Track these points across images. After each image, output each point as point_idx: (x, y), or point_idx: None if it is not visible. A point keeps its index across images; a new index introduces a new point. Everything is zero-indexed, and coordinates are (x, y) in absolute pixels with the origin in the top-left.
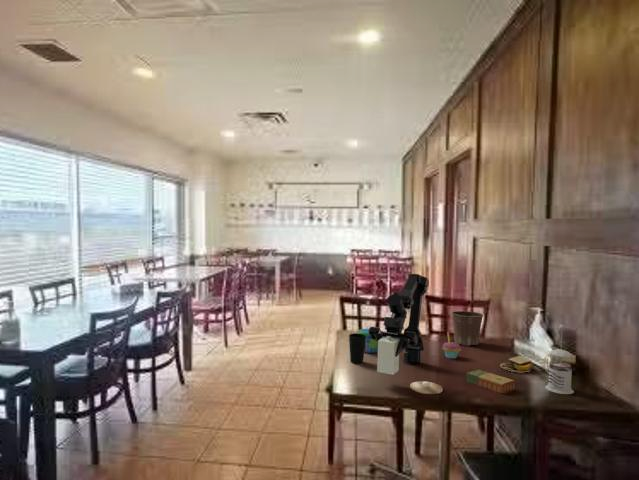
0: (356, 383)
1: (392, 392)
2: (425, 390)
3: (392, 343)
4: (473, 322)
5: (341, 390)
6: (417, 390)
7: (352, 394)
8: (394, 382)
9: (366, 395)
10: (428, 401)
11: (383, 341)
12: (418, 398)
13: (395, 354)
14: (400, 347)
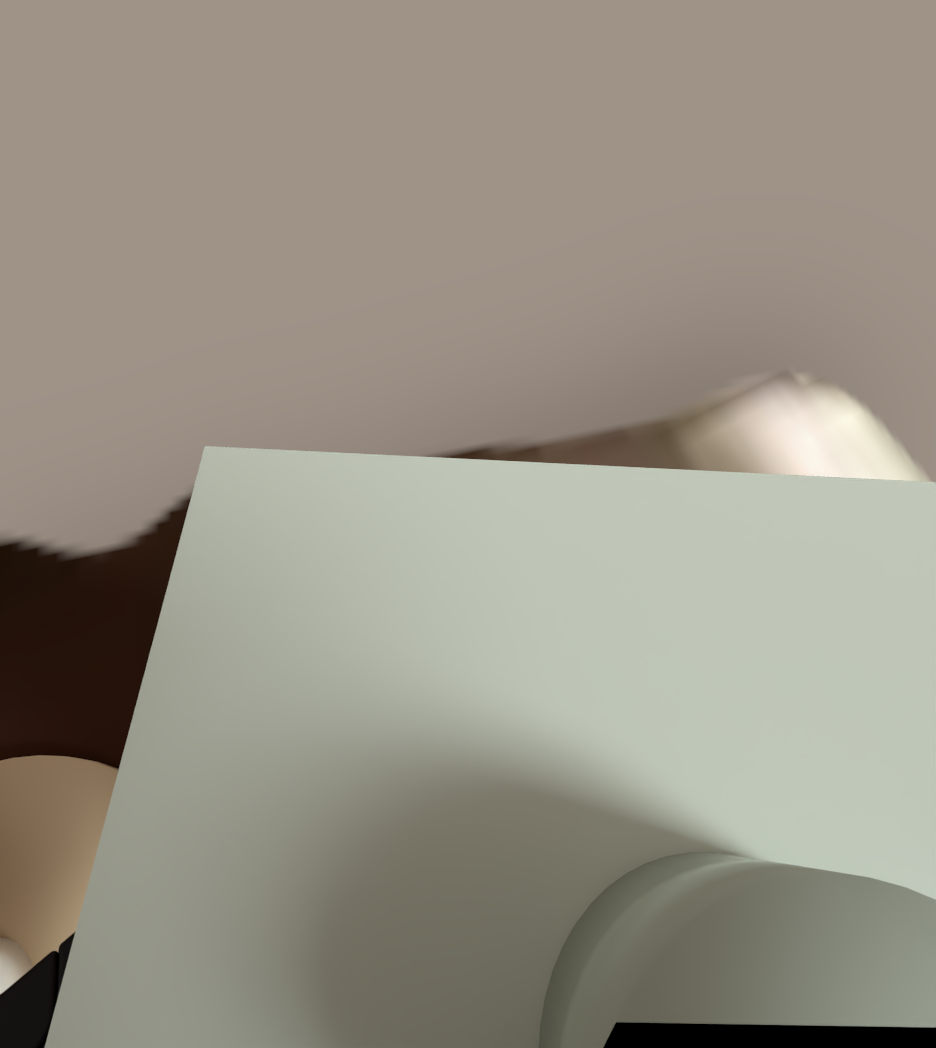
0: None
1: None
2: (8, 821)
3: (315, 476)
4: None
5: (833, 445)
6: (110, 768)
7: (700, 406)
8: None
9: (586, 438)
10: (14, 558)
11: (818, 477)
12: (111, 587)
13: None
14: (46, 971)
